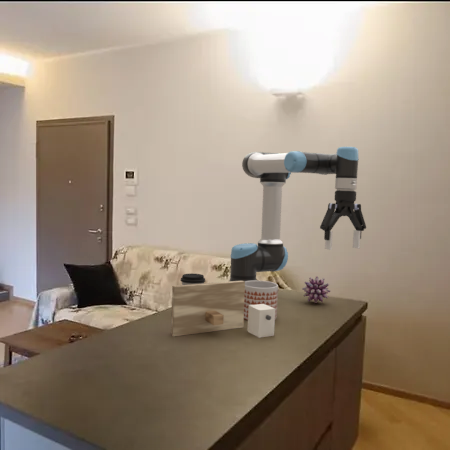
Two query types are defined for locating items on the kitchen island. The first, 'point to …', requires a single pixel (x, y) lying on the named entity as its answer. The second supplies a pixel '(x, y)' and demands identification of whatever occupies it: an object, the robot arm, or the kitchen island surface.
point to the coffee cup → (192, 279)
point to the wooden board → (207, 307)
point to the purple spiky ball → (316, 289)
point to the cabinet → (261, 320)
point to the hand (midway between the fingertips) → (342, 248)
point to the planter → (260, 295)
